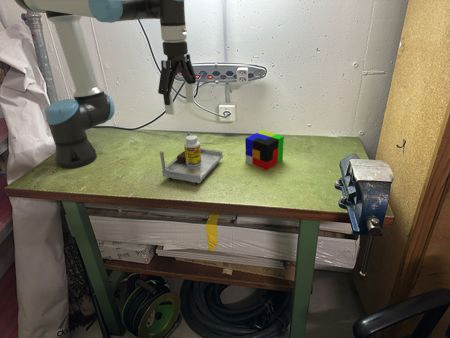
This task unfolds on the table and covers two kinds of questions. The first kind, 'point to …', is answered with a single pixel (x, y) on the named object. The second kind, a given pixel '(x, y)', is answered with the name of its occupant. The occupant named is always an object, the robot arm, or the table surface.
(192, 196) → the table surface
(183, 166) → the cart
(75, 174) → the table surface
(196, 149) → the supplement bottle
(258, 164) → the puzzle toy
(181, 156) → the brick
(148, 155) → the table surface
